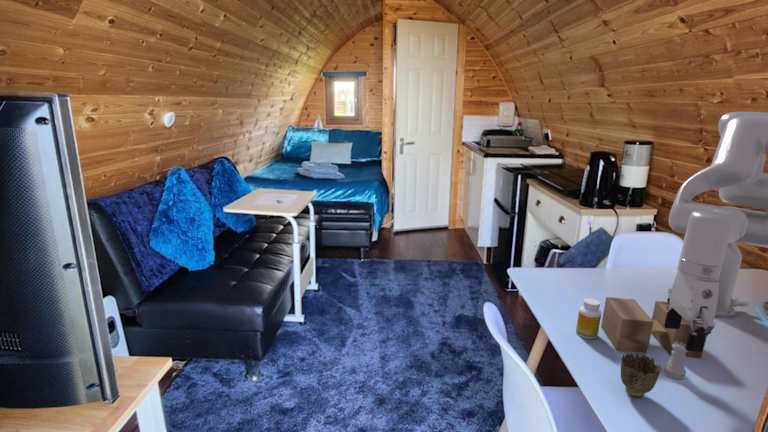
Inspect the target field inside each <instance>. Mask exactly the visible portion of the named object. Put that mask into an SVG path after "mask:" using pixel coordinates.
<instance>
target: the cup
mask: <svg viewBox="0 0 768 432" xmlns="http://www.w3.org/2000/svg"><path fill="white" fill-rule="evenodd" d="M634 354H635V355H634ZM655 361H656V360H655V359H654V358H650V356H648V355H646V354H643V355H640V353H634V352H626V354H622V356H621V358H620V380H621V382H622V384H623V385H624V386H625V392H626V394H628V396H630V397H632V398H636V399H641V398H643V397H644V396H645V395H646V394H647V393H649V392H651V391H652V390H653V389H654V387H655V385H656V384H657V381H658V379H659V376H660V373H661V372H662V370H663V369H662V368H661V367H662V366H661V364H660V363H659V364H655Z"/></svg>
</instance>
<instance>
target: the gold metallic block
mask: <svg viewBox="0 0 768 432" xmlns="http://www.w3.org/2000/svg"><path fill="white" fill-rule="evenodd" d="M653 321H654V323H653V327H652V332H651V335H652V334H659V335H666V334H667V331H666V330H665V329H664V328H663V327H662V325H661V324H660V323H659V322H658V321H657V320H653Z"/></svg>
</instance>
